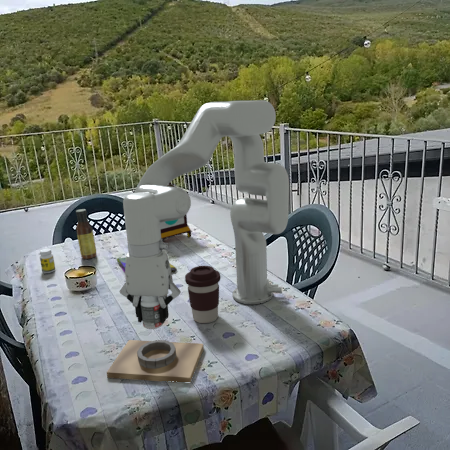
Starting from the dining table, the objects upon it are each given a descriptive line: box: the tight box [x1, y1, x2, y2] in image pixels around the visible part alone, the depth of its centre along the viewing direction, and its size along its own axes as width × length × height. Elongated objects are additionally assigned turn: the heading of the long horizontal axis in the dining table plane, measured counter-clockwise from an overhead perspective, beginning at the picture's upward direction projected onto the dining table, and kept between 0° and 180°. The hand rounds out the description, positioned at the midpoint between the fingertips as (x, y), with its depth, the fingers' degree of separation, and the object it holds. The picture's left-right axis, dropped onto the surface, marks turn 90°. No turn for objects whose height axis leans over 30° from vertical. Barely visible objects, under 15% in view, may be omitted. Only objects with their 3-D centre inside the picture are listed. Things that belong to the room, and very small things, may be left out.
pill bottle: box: [141, 296, 164, 330], centre depth 105 cm, size 5×5×8 cm
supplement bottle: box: [39, 248, 56, 274], centre depth 170 cm, size 5×5×8 cm
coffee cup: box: [184, 265, 221, 324], centre depth 128 cm, size 10×10×15 cm
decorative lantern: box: [160, 182, 192, 241], centre depth 198 cm, size 20×20×30 cm
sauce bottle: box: [75, 208, 98, 260], centre depth 181 cm, size 7×6×20 cm
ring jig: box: [106, 339, 205, 383], centre depth 109 cm, size 20×14×4 cm
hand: (152, 319), depth 106 cm, fingers closed on pill bottle, 4 cm apart
